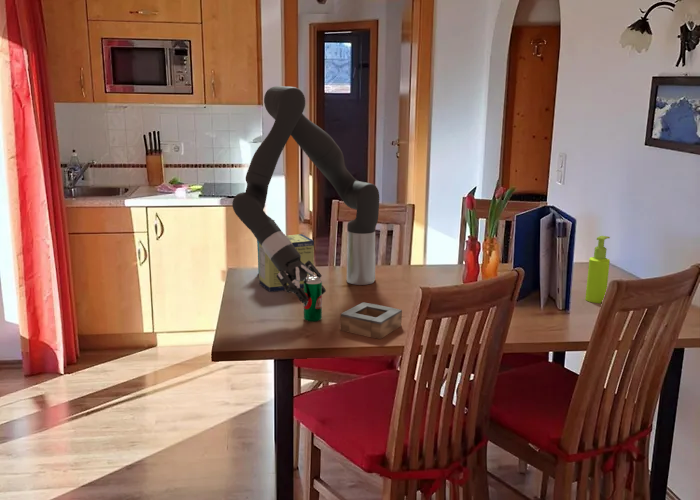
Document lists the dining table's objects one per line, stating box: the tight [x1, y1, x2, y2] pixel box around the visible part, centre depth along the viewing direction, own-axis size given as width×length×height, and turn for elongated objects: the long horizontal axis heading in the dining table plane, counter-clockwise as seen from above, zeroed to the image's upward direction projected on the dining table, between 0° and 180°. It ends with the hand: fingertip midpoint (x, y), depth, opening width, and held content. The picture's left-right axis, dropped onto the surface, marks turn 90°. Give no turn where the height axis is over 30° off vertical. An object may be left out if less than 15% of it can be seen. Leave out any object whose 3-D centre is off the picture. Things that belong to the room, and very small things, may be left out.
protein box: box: [258, 233, 315, 293], centre depth 221 cm, size 10×16×16 cm
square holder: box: [339, 301, 403, 340], centre depth 184 cm, size 12×12×5 cm
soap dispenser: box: [584, 235, 611, 304], centre depth 209 cm, size 6×7×20 cm
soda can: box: [303, 276, 323, 323], centre depth 189 cm, size 5×5×12 cm
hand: (314, 297), depth 188 cm, fingers open, 8 cm apart
